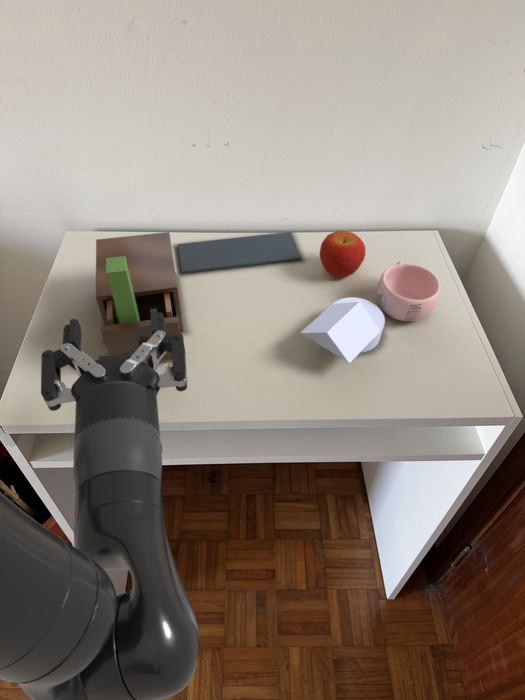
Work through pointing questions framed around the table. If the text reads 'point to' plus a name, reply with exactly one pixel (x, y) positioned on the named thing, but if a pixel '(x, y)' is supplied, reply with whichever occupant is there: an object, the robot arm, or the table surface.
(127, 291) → the long green square beam
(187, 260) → the mat
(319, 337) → the wedge on round base
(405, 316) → the mug
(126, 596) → the robot arm
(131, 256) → the cabinet
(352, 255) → the apple
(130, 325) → the drawer
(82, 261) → the table surface
